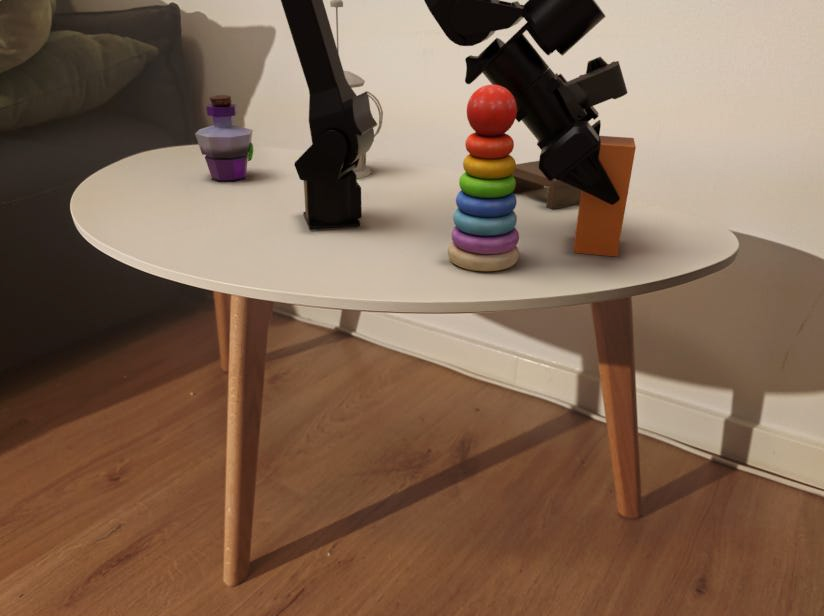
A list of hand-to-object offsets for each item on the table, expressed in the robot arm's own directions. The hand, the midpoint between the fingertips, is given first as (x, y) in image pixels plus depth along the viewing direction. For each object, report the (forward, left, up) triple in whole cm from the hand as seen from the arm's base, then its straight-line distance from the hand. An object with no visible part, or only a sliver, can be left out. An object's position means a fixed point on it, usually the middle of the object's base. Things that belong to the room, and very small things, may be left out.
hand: (615, 194), depth 80 cm
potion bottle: (-43, +41, -7) cm, 60 cm away
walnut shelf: (+2, +22, -7) cm, 23 cm away
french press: (-24, +42, -7) cm, 49 cm away
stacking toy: (-16, -1, -7) cm, 17 cm away
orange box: (-1, +1, -7) cm, 7 cm away
